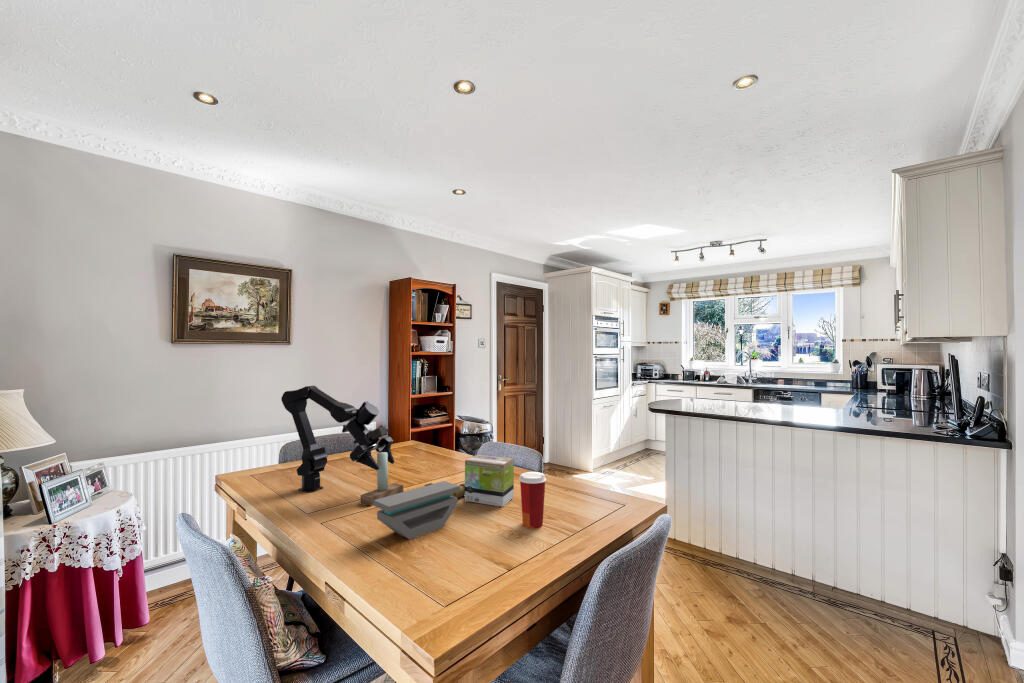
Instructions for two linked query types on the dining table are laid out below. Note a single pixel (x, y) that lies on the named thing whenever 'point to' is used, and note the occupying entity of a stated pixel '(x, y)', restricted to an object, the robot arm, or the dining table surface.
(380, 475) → the post
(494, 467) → the tea box
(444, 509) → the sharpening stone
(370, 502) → the brown wooden block
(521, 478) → the coffee cup
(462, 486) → the gavel
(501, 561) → the dining table surface
